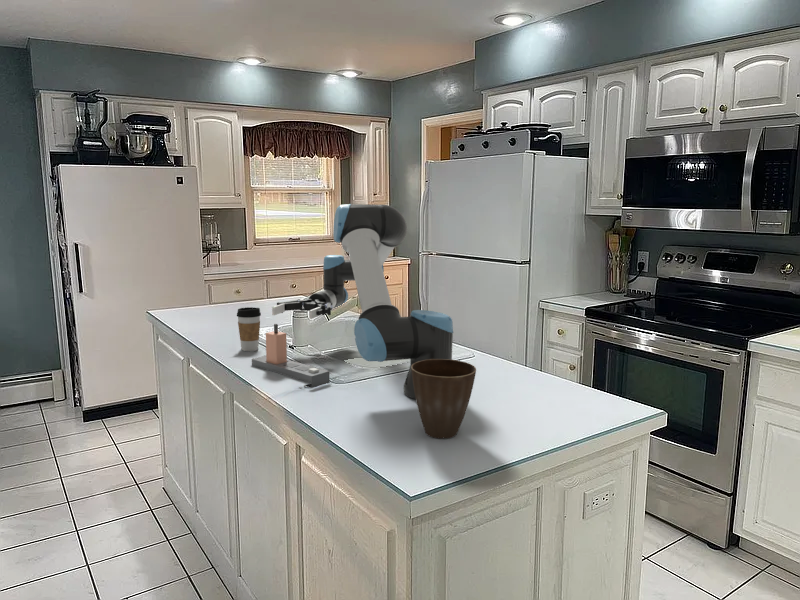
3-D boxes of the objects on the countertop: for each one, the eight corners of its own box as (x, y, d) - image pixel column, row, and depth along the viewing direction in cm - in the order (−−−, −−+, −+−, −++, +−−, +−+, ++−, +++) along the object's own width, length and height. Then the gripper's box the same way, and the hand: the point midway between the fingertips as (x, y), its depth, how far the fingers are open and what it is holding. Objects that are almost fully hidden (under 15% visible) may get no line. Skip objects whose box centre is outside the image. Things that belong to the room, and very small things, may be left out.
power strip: (329, 382, 181) (329, 368, 180) (311, 388, 176) (311, 373, 175) (269, 365, 199) (269, 352, 198) (251, 369, 193) (251, 356, 193)
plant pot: (468, 421, 151) (471, 358, 149) (478, 445, 136) (481, 376, 134) (408, 421, 151) (409, 358, 148) (411, 445, 136) (413, 376, 133)
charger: (286, 367, 191) (286, 323, 188) (276, 370, 188) (275, 325, 185) (276, 364, 194) (275, 321, 191) (266, 367, 191) (265, 323, 188)
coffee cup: (248, 353, 213) (246, 311, 211) (232, 349, 218) (231, 308, 216) (266, 348, 220) (265, 307, 217) (251, 345, 225) (250, 305, 222)
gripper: (353, 315, 214) (326, 327, 194) (290, 309, 222) (258, 320, 202) (353, 294, 212) (326, 304, 193) (290, 289, 221) (258, 298, 201)
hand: (291, 312), depth 197 cm, fingers open, 13 cm apart
